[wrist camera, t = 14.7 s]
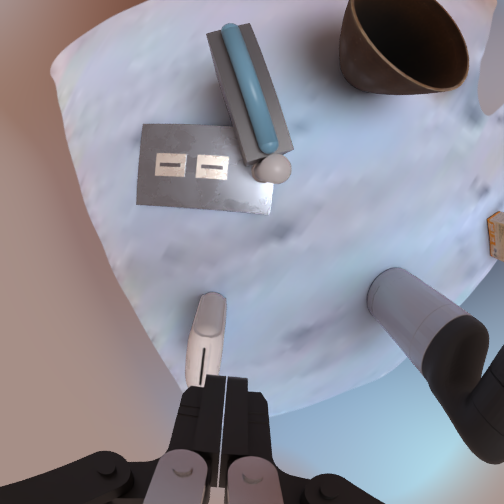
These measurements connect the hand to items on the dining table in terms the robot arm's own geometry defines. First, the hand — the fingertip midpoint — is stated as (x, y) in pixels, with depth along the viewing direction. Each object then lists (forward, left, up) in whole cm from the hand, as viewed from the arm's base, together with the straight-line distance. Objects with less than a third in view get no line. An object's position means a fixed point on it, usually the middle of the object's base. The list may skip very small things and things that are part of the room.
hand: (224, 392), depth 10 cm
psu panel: (+5, -9, -30) cm, 32 cm away
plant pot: (-16, -27, -30) cm, 43 cm away
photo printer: (+3, +14, -30) cm, 34 cm away
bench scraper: (0, -14, -28) cm, 32 cm away
